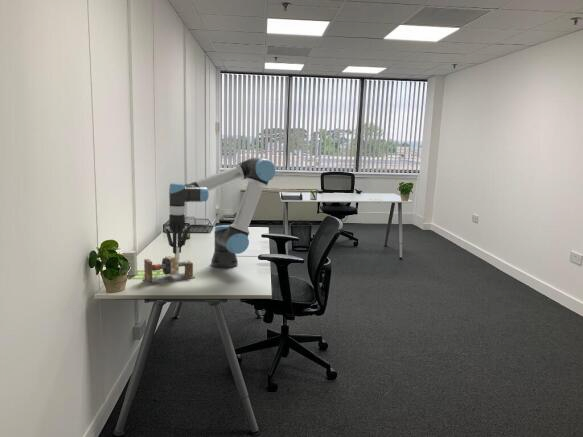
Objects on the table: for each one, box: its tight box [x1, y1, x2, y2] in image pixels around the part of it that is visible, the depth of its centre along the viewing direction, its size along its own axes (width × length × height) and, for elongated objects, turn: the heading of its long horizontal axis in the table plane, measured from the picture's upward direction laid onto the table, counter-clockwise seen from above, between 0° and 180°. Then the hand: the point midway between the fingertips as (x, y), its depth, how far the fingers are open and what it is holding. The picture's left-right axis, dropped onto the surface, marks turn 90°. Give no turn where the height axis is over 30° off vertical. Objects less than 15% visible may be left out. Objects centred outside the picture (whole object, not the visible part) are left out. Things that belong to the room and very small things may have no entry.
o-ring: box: [161, 257, 171, 276], centre depth 219 cm, size 2×8×8 cm, turn 35°
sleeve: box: [164, 255, 180, 275], centre depth 220 cm, size 4×8×8 cm, turn 36°
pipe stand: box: [142, 258, 196, 286], centre depth 220 cm, size 24×9×11 cm, turn 125°
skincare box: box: [121, 250, 138, 276], centre depth 225 cm, size 6×4×12 cm
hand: (177, 259), depth 222 cm, fingers closed
